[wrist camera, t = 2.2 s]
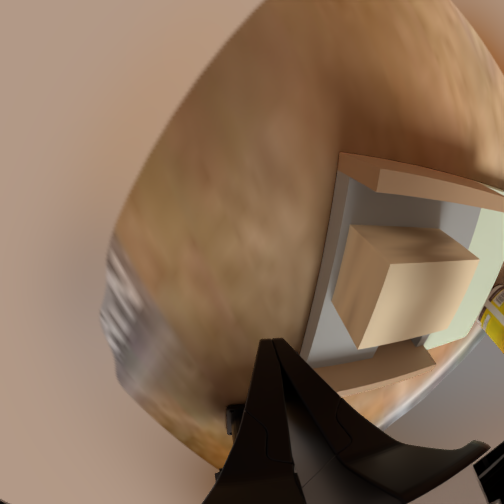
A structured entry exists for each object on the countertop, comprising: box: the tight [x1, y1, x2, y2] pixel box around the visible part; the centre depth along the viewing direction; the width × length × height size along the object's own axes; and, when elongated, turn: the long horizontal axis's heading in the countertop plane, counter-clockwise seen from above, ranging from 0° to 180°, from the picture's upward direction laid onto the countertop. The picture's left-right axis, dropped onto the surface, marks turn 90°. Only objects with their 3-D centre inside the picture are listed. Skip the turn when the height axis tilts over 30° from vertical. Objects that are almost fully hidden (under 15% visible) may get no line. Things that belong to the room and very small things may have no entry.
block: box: [332, 225, 480, 350], centre depth 14 cm, size 7×5×4 cm
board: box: [300, 152, 504, 397], centre depth 17 cm, size 20×16×4 cm
